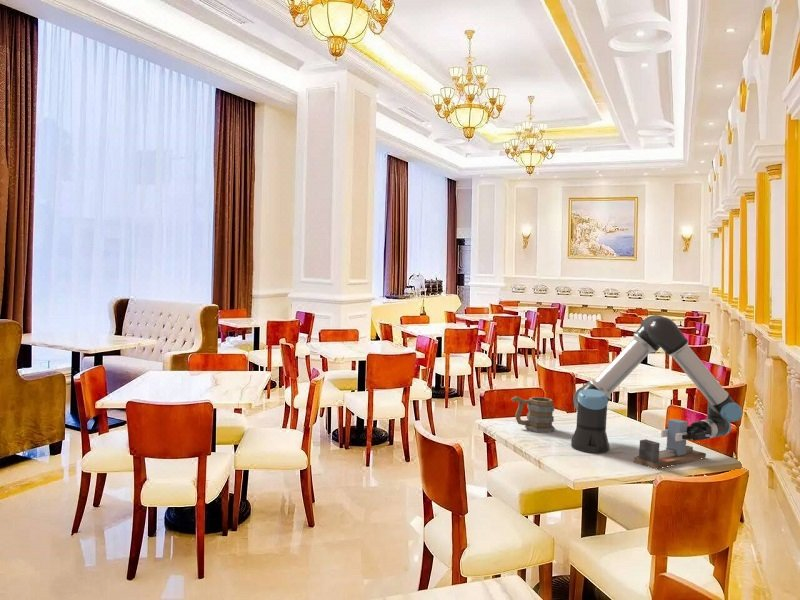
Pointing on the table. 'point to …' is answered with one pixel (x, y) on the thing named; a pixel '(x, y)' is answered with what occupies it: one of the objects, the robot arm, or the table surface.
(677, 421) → the sleeve
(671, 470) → the table surface
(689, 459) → the rail board
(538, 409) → the tankard
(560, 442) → the table surface
